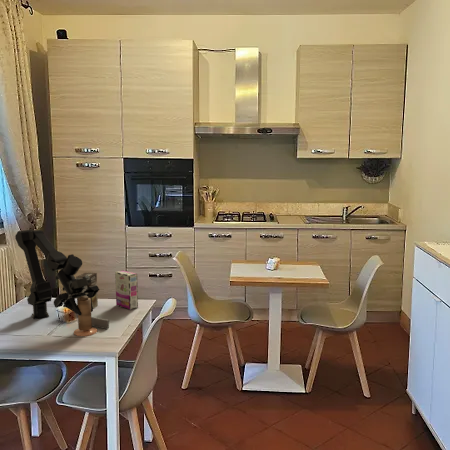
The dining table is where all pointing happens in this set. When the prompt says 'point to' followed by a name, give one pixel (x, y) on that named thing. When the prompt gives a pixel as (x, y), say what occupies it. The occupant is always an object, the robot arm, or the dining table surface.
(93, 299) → the coffee box
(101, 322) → the grey flat bar
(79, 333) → the coaster
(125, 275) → the candy bar box
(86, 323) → the walnut mill
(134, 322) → the dining table surface
